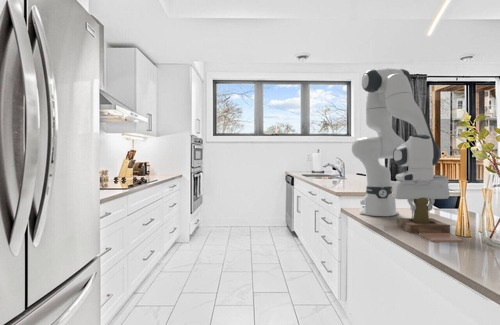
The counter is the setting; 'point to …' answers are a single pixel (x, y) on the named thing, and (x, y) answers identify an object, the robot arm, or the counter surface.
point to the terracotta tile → (440, 237)
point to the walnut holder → (423, 226)
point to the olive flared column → (421, 211)
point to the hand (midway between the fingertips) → (420, 210)
